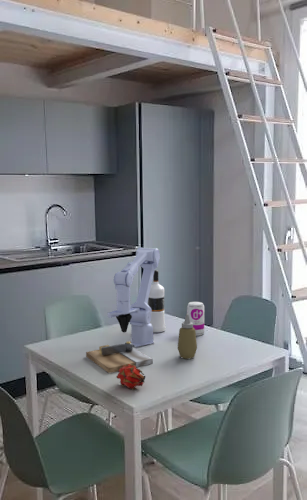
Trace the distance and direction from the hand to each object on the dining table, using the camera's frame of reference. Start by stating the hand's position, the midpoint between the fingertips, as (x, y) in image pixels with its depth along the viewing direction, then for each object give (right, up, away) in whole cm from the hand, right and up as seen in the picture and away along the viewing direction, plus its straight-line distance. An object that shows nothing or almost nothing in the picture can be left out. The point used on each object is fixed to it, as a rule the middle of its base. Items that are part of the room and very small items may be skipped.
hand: (124, 331), depth 203 cm
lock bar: (-2, -8, -5) cm, 9 cm away
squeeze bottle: (+26, -10, -4) cm, 29 cm away
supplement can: (+33, -6, +28) cm, 44 cm away
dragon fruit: (+5, -14, -33) cm, 36 cm away
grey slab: (-2, -10, -7) cm, 13 cm away
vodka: (+14, -5, +34) cm, 37 cm away
